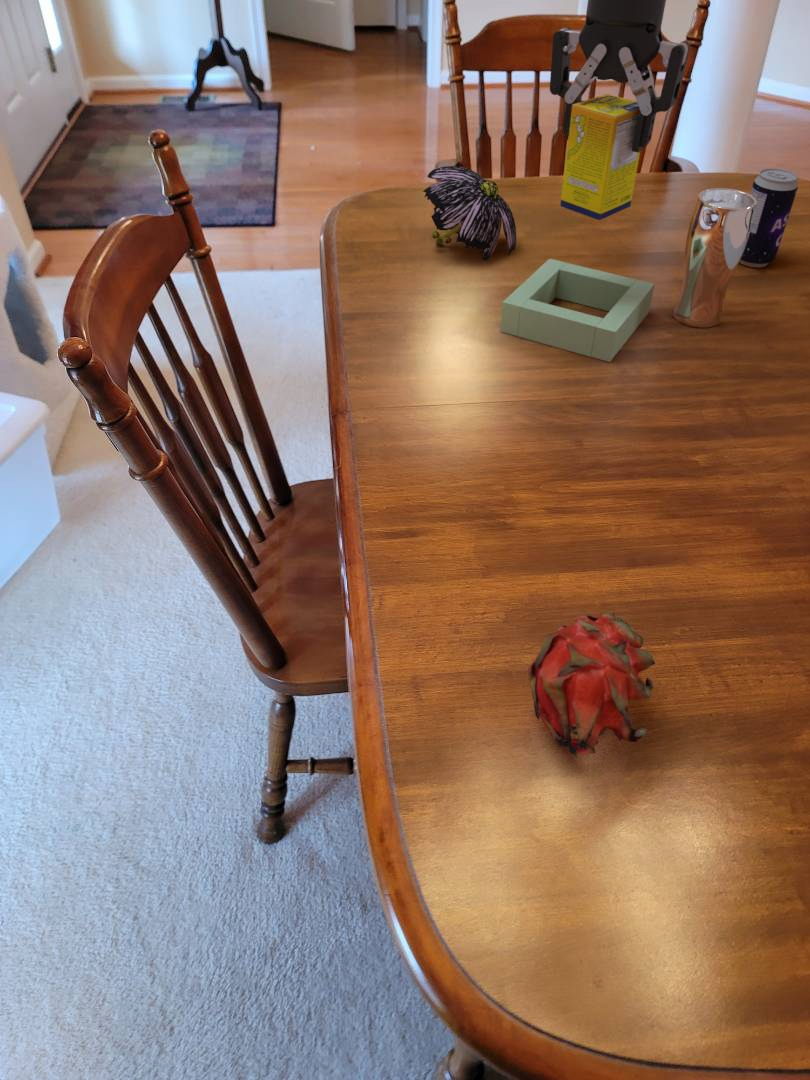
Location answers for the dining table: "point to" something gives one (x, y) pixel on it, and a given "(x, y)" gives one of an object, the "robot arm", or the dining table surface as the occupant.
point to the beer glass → (713, 254)
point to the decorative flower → (469, 210)
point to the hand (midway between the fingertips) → (604, 144)
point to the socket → (572, 329)
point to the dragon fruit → (590, 681)
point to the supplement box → (600, 157)
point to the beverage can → (769, 215)
